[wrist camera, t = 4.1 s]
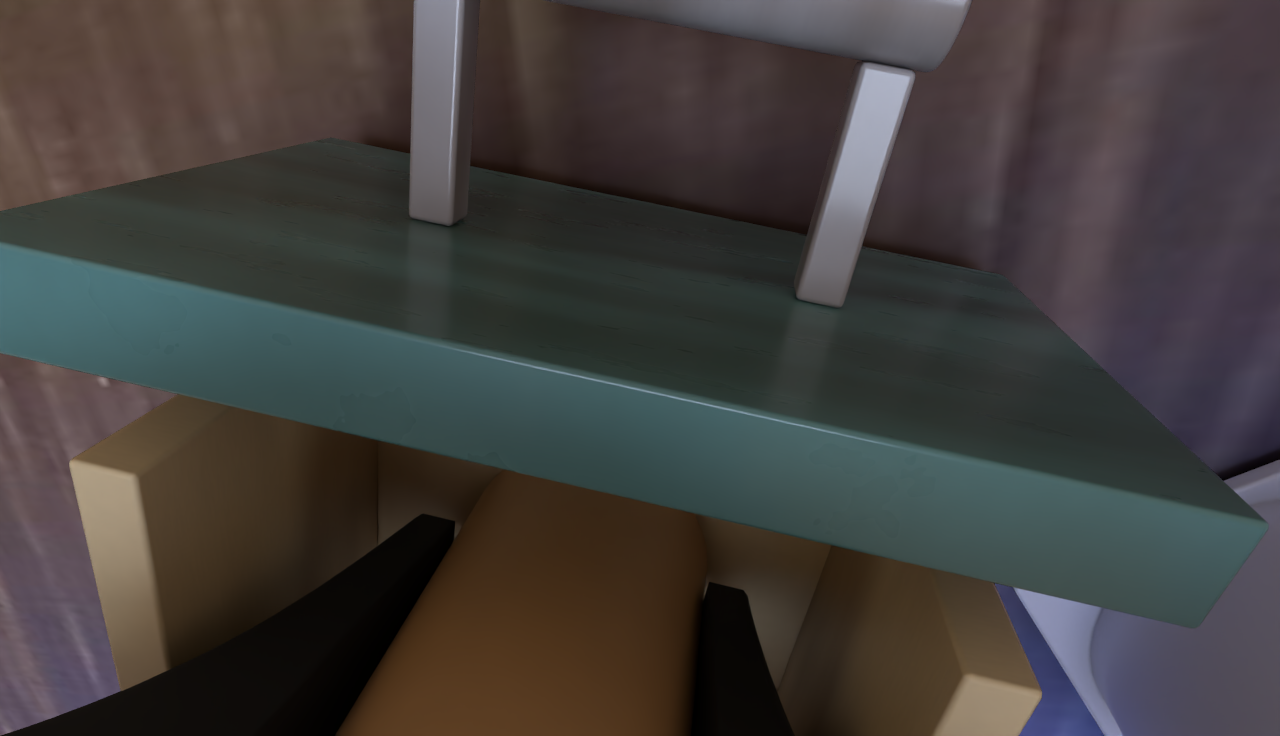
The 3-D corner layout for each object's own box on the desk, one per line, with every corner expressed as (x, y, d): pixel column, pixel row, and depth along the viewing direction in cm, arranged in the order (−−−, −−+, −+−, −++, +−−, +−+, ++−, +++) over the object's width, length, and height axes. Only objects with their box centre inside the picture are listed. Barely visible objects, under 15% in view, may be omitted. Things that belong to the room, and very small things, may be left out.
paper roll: (614, 404, 12) (459, 791, 6) (753, 589, 13) (752, 1073, 7) (427, 511, 14) (150, 903, 7) (567, 666, 15) (431, 1117, 9)
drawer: (322, -153, 11) (-265, -420, 4) (1123, -10, 10) (1721, -96, 4) (343, 667, 18) (138, 978, 12) (792, 781, 18) (813, 1172, 12)
